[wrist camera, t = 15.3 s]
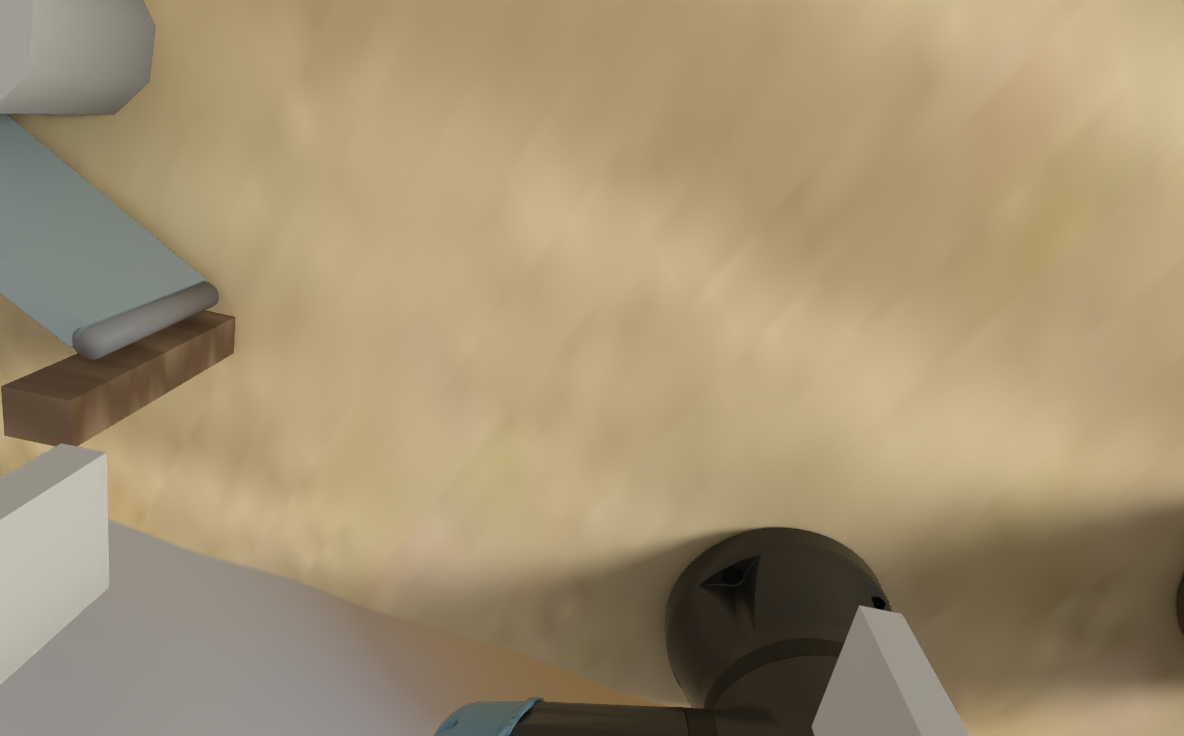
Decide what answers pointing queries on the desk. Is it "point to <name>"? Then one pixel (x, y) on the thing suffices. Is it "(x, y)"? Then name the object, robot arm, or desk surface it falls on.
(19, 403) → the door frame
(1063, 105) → the desk surface
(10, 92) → the toilet tissue
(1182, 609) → the wooden container
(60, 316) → the door
